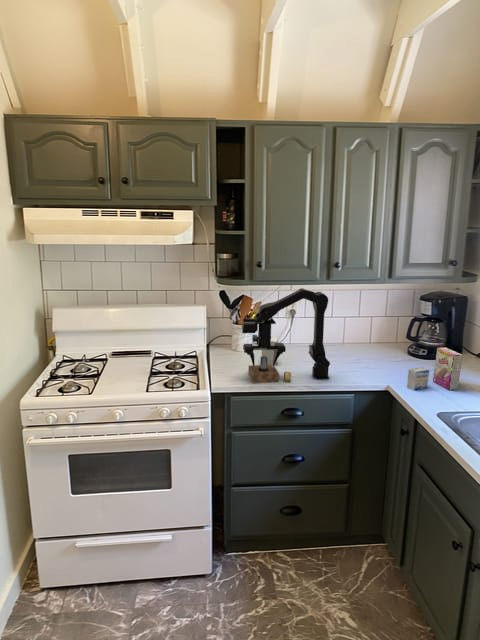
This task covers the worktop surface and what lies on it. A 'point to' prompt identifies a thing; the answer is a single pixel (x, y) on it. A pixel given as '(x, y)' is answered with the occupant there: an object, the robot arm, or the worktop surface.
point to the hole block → (263, 374)
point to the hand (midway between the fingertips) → (263, 365)
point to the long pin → (263, 363)
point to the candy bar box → (447, 368)
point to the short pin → (287, 377)
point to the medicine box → (418, 378)
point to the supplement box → (270, 352)
